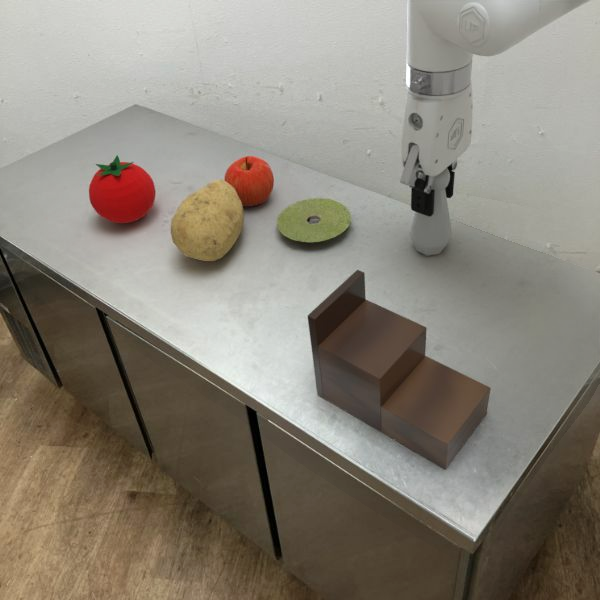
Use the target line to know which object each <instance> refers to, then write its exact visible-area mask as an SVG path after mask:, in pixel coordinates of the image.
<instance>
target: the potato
mask: <svg viewBox="0 0 600 600" xmlns="http://www.w3.org/2000/svg"><path fill="white" fill-rule="evenodd" d="M244 221H245V213H244V206H243V205H242V202H241V200H240V198H239V197H238V195H237V193H236V191H235V189H234V188H233V187H232V185H230V184H229V183H227V182H226V181H224V179H215V180H212V181H211V182H209V183H208V184H206V185H205V186H203V187H202V188H200V189H199V190H196V191H194V192H192V193H190V194H188V195H187V196H186V197H185V198H184V199H183V200H182V202H181V203H180V204H179V206H178V208H177V210H176V212H175V213H174V215H173V216H172V218H171V222H170V235H171V240H172V243H173V244H174V246H175V247H176V248H177V250H179V252H180V253H182V254H183V255H185V256H186V257H187V258H191V259H195V260H198V261H203V262H215V261H218V260H220V259H222V258H223V257H224V256H226V254H228V252H229V251H230V250H231V249H232V247H234V245H235V244H236V242H237V239H238V238H239V236H240V235H241V232H242V229H243V227H244Z"/></svg>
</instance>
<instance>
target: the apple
mask: <svg viewBox="0 0 600 600" xmlns="http://www.w3.org/2000/svg"><path fill="white" fill-rule="evenodd" d="M223 181H226V182H227V183H229V184H230V185H232V187H233V188H234V189H235V191H236V193H237V195H238V197H239V198H240V200H241V202H242V207H254V206H258V205H261V204H263V203H265V202H266V201H267V200H268V199H269V197H270V195H271V194H272V191H273V189H274V186H275V185H274V184H275V177H274V173H273V171H272V168H271V166H270V164H269V163H268V162H267V161H266V160H264V159H262V158H260V157H258V156H254V155H246V156H243V157H241V158H238V159H237V160H234V162H232V163H231V164H230V165H229V167H228V168H227V169H226V171H225V173H224V179H223Z"/></svg>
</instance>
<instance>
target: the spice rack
mask: <svg viewBox="0 0 600 600" xmlns="http://www.w3.org/2000/svg"><path fill="white" fill-rule="evenodd" d="M307 323H308V330H309V338H310V349H311V355H312V362H313V363H312V364H313V370H314V380H315V387H316V394H317V396H318V397H320V398H322V399H324V400H325V401H327V402H329V403H330V404H332V405H334V406H336V407H337V408H339V409H340V410H342V411H344V412H346V413H347V414H349V415H351V416H352V417H354V418H356V419H358V420H360V421H361V422H363V423H364V424H366V425H368V426H370V427H372V428H374V429H375V430H376V431H378V432H381V433H382V434H383V435H385V436H387V437H389V438H390V439H393V440H394V441H396V442H397V443H399V444H401V445H403V446H405V447H406V448H408V449H410V450H411V451H413V452H415V453H416V454H418V455H420V456H421V457H423V458H425V459H427V460H428V461H430V462H432V463H434V464H436V465H437V466H439V467H440V468H442V469H444V470H447V468H448V467H449V466H450V464H451V463H452V461H453V460H454V459H455V457H456V456H457V454H459V452H460V450H461V449H462V448H463V446H465V444H466V443H467V442H468V440H469V438H470V437H471V435H473V433H474V431H475V430H476V429H477V428H478V427H479V425H480V423H481V422H482V421H483V419H484V418H485V417H486V415H487V413H488V408H489V402H490V394H491V390H492V389H491V387H490V386H488V385H486V384H484V383H483V382H480V381H478V380H476V379H474V378H472V377H470V376H468V375H466V374H465V373H461V372H459V371H458V370H455V369H453V368H451V367H450V366H448V365H445V364H443V363H441V362H439V361H437V360H435V359H433V358H431V357H429V356H426V347H427V328H428V327H427V326H424V325H423V324H420V323H418V322H416V321H413V320H411V319H409V318H407V317H405V316H403V315H402V314H398V313H396V312H394V311H392V310H390V309H388V308H385V307H383V306H381V305H379V304H377V303H375V302H373V301H370V300H368V299H366V277H365V272H364V271H362V270H360V269H356V270H355V271H354V272H353V273H352V274H351V275H350V276H348V277H347V278H346V279H345V280H344V281H343V282H342V283H341V284H339V286H338V287H337V288H336V289H335V290H333V292H331V293H330V294H329V295H328V296H327V297H326V298H325V299H324V300H322V302H321V303H319V304H318V305H317V306H316V307H315V308H314V309H313V310H312V311H310V312H309V314H307Z"/></svg>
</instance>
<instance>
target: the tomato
mask: <svg viewBox="0 0 600 600" xmlns="http://www.w3.org/2000/svg"><path fill="white" fill-rule="evenodd" d="M95 166H97V167H98V168H99V169H98V170H97V171H96V173H94V175H93V176H92V179H91V180H90V183H89V186H88V199H89V202H90V205H91V207H92V209H93V210H94V211H95V212H96V213H97V215H99V216H100V217H101V218H103V219H105V220H106V221H109V222H112V223H116V224H128V223H133V222H136V221H137V220H140V219H141V218H143V217H144V216H145V215H147V214H148V212H149V211H150V210H151V209H152V207H153V205H154V203H155V199H156V186H155V183H154V181H153V178H152V177H151V175H150V174H149V173H148V172H147V171H146V170H145V169H144V168H142V167H141V166H140V165H137V164H135V163H134V161H131V162H129V161H121V160H120V157H119V154H116V156H115V158H114V159H113V161H112V162H110V163H109V164H100V163H95Z"/></svg>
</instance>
